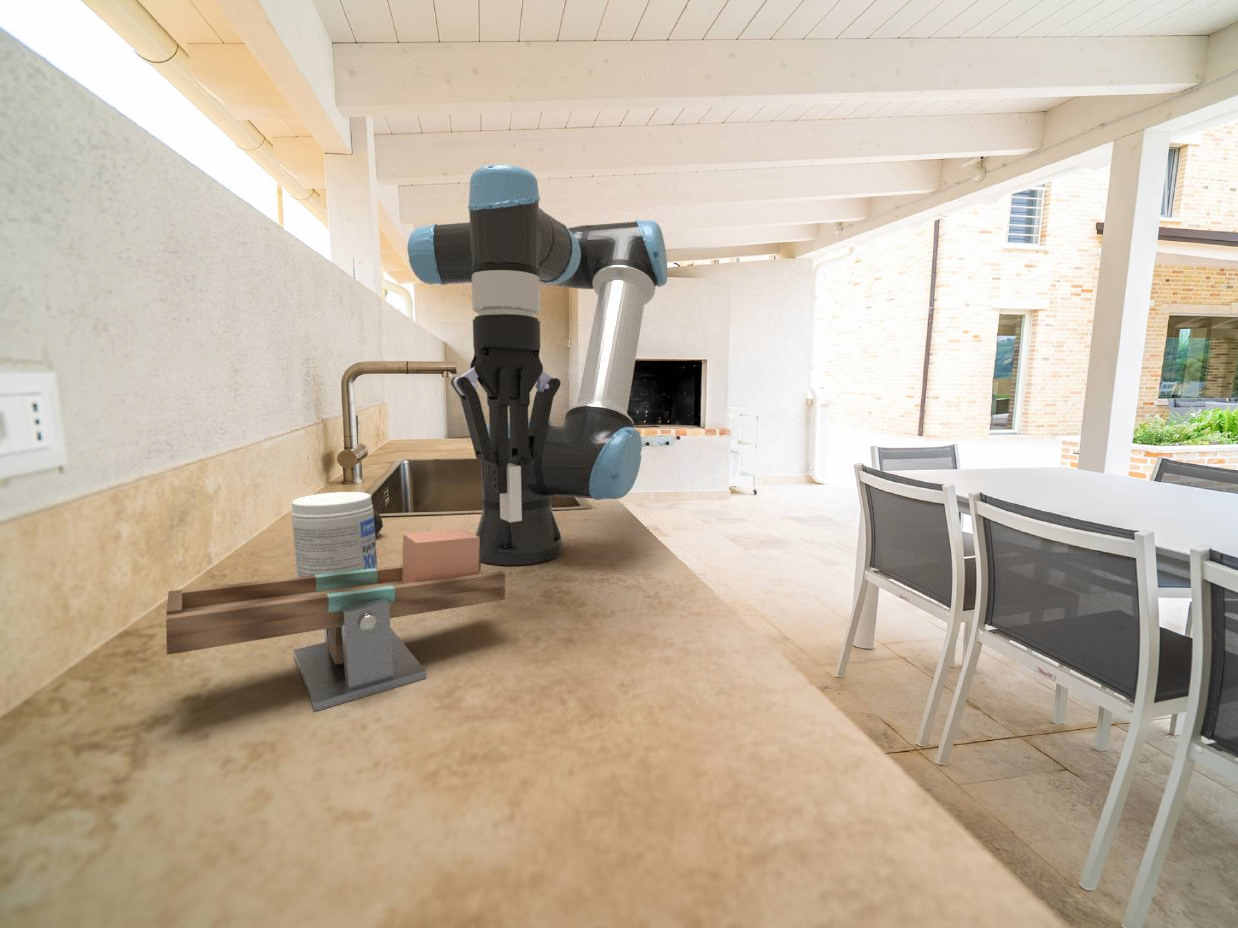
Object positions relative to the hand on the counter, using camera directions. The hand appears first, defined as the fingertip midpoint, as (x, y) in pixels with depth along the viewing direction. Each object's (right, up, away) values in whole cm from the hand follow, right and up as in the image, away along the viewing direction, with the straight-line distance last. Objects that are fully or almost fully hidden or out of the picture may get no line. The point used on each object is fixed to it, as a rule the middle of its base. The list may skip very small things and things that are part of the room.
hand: (510, 519), depth 69 cm
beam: (-15, -13, -9) cm, 22 cm away
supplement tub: (-24, -13, +8) cm, 28 cm away
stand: (-14, -15, -8) cm, 22 cm away
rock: (-38, -8, +40) cm, 55 cm away
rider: (-7, -7, -4) cm, 11 cm away
